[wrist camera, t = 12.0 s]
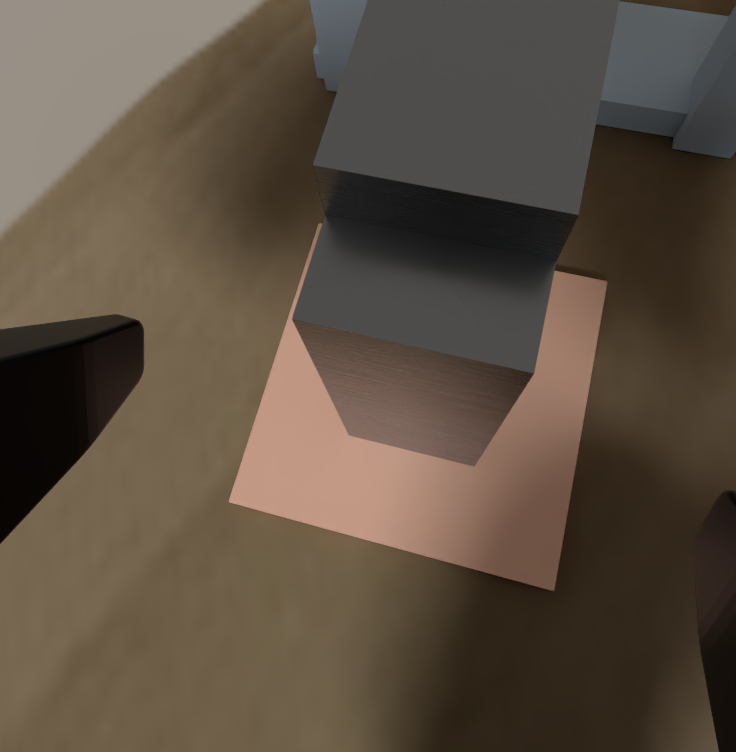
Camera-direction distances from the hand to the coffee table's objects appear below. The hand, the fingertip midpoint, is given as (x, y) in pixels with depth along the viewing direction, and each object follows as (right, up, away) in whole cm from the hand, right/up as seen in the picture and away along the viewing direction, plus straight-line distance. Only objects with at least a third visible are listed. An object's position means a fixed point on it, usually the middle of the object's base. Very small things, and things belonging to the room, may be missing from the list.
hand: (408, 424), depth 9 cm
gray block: (+2, +2, +11) cm, 11 cm away
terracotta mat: (+1, 0, +11) cm, 11 cm away
